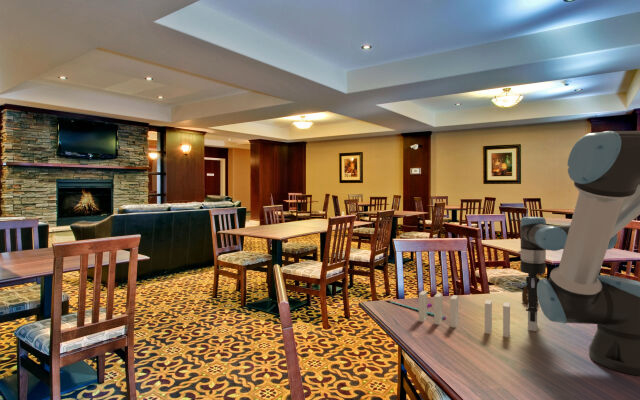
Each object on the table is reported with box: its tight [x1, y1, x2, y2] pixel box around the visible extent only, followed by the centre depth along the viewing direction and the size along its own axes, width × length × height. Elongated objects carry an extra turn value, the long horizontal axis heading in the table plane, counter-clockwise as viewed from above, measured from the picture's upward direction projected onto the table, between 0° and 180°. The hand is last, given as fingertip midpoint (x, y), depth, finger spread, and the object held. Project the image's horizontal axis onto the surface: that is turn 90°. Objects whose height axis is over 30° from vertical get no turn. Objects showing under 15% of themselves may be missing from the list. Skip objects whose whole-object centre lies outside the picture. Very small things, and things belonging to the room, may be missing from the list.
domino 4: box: [484, 299, 493, 335], centre depth 119 cm, size 2×5×10 cm, turn 149°
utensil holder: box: [521, 274, 540, 305], centre depth 149 cm, size 6×6×12 cm
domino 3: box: [449, 294, 459, 328], centre depth 125 cm, size 2×5×10 cm, turn 149°
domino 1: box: [418, 290, 428, 323], centre depth 131 cm, size 2×5×10 cm, turn 149°
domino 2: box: [433, 292, 443, 326], centre depth 128 cm, size 2×5×10 cm, turn 149°
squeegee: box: [385, 299, 446, 321], centre depth 145 cm, size 29×2×10 cm
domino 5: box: [502, 301, 511, 338], centre depth 117 cm, size 2×5×10 cm, turn 149°
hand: (532, 326), depth 123 cm, fingers open, 8 cm apart
